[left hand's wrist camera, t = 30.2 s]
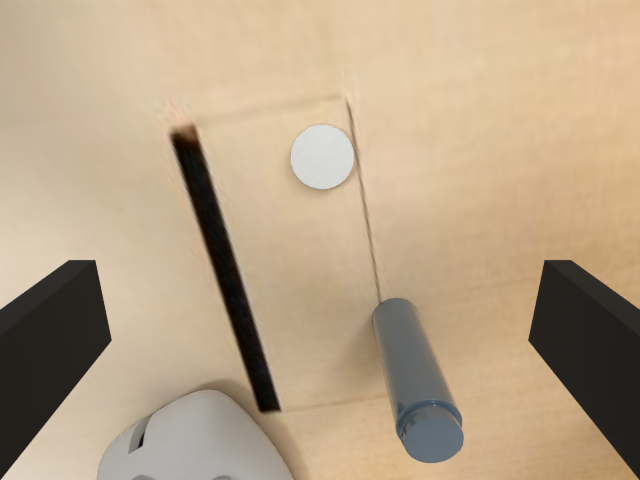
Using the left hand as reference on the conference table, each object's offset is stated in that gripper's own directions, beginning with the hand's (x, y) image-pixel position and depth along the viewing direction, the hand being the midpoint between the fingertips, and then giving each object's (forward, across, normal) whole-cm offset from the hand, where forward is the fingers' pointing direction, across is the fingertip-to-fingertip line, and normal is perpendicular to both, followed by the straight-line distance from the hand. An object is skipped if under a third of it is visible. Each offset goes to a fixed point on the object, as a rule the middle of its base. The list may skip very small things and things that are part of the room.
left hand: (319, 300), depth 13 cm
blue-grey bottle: (+27, +8, -17) cm, 33 cm away
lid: (+26, 0, 0) cm, 26 cm away
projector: (+27, -11, -36) cm, 46 cm away
